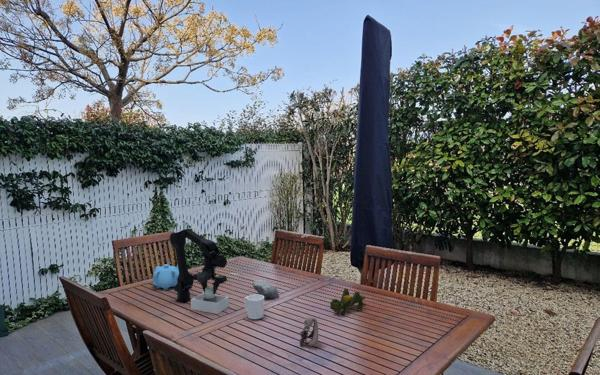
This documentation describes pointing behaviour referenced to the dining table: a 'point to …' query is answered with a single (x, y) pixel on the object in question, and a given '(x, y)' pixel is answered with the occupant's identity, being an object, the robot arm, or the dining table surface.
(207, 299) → the metal block
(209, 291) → the jar
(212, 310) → the tote
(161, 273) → the teapot
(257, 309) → the mug
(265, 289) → the rock
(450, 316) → the dining table surface
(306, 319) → the toy
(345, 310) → the toy
